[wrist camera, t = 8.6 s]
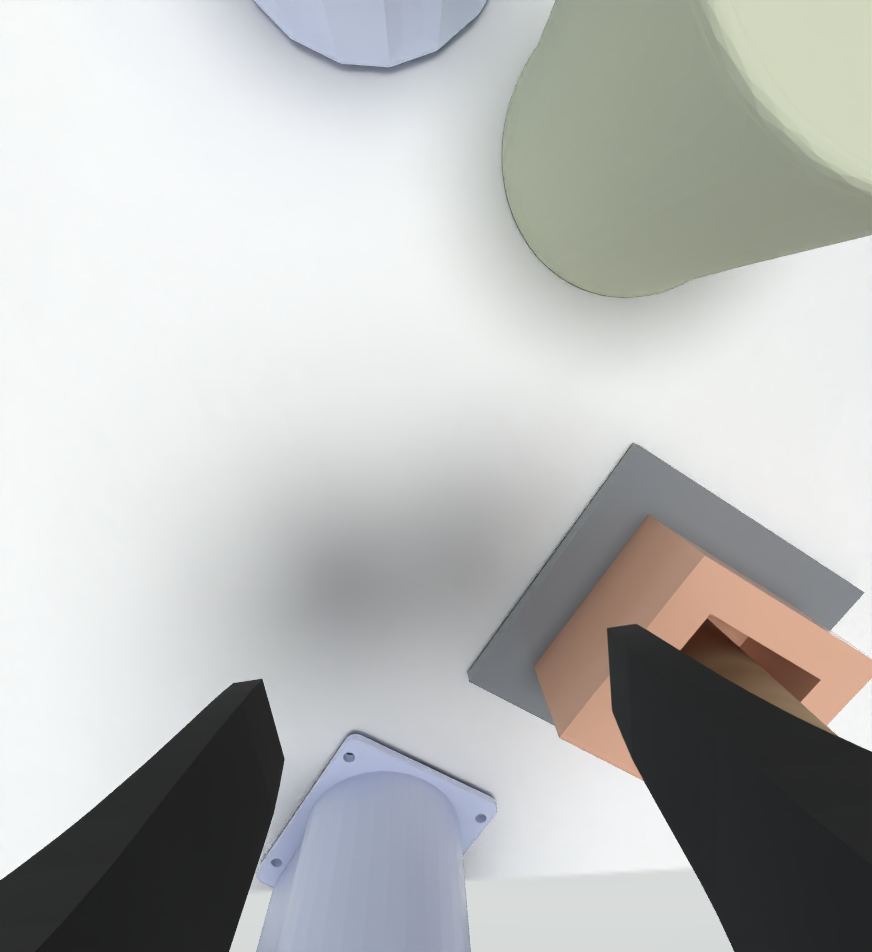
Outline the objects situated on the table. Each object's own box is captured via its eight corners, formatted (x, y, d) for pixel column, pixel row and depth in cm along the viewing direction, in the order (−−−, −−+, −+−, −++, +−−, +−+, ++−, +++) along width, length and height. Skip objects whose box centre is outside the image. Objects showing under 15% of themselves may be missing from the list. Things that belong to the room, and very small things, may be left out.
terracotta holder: (677, 781, 23) (737, 880, 19) (467, 672, 21) (480, 754, 17) (852, 585, 21) (965, 648, 17) (633, 442, 19) (696, 471, 15)
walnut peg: (680, 695, 21) (838, 900, 13) (614, 659, 20) (738, 850, 12) (732, 631, 20) (932, 806, 12) (665, 592, 19) (830, 749, 12)
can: (805, 9, 16) (1914, -962, 4) (733, 310, 18) (1305, 244, 6) (522, -33, 15) (861, -1286, 4) (485, 283, 17) (616, 155, 6)
